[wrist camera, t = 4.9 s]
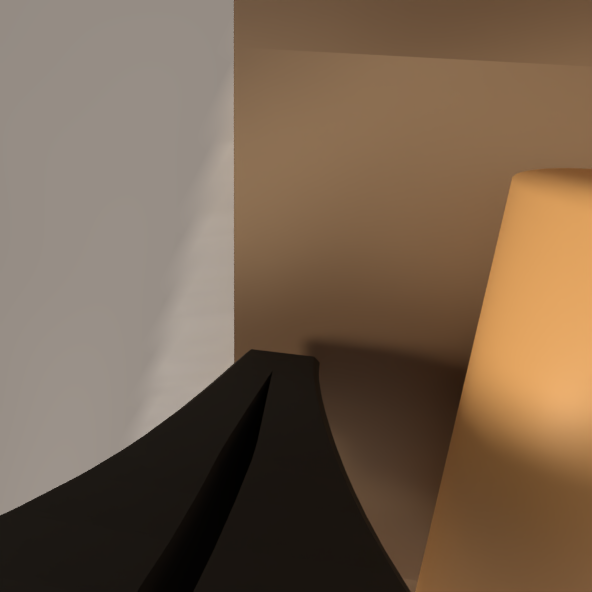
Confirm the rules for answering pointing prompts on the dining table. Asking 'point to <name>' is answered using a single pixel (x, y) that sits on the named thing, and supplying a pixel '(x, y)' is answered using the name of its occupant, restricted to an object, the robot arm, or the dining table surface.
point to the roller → (525, 408)
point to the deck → (391, 207)
